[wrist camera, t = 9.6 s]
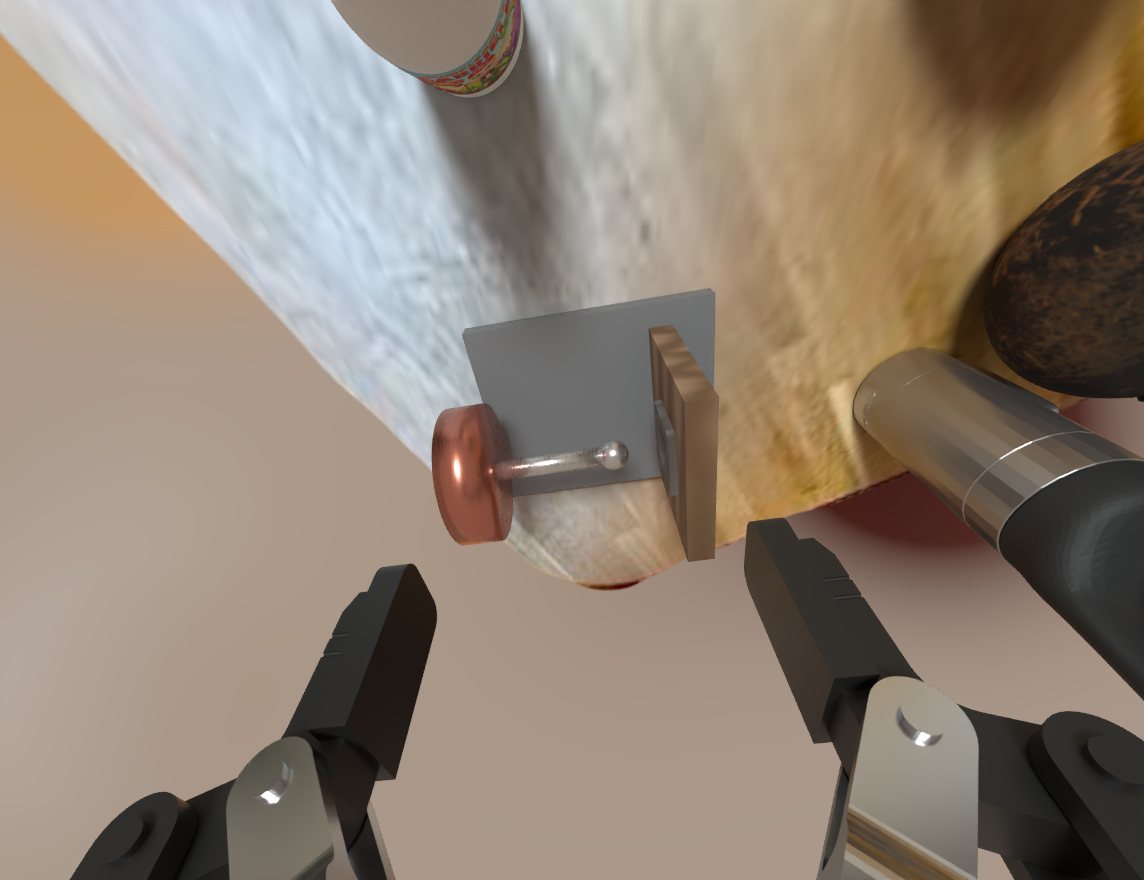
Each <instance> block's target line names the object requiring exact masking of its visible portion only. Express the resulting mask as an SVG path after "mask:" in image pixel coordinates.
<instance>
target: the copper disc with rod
mask: <svg viewBox="0 0 1144 880" xmlns="http://www.w3.org/2000/svg"><path fill="white" fill-rule="evenodd" d="M628 457H629V452H628V449H627V447H626V445H625V444H624V443H623V442H621V441H619V440H616V439H611V440H608V441H606V442H604V443H603V444H602V445H601V446H598V447H591V448H584V449H577V450H570V451H563V452H556V453H549V454H542V455H535V456H528V457H521V458H514V459H509V455H508V450H507V446H506V441H505V438H504V434H503V431H502V428H501V425H500V422H499V420H498V417H497V415H496V413H495V412H494V410H493V409H492V407H491V406H490V405H488V404H486V403H483V404H476V405H470V406H463V407H457V408H450V409H445V410H444V411H442V413H441V414H440V415H439V417H438V419H437V422H436V424H435V428H434V433H433V440H432V473H433V481H434V488H435V494H436V498H437V502H438V507H439V510H440V513H441V516H442V519H443V521H444V524H445V526H446V528H447V530H448V532H449V533H450V535H451V537H452V538H453V539H454V540H455V541H456V542H457V543H458V544H460V545H472V544H480V543H488V542H496V541H503V540H505V539H506V538H507V536H508V534H509V531H510V528H511V523H512V515H513V486H512V479H515V478H522V477H529V476H536V475H543V474H551V473H558V472H565V471H572V470H579V469H587V468H594V467H601V466H604V467H606V468H607V469H611V470H616V469H620V468H622V467H623V466H624V465H625V464H626V462H627V461H628Z"/></svg>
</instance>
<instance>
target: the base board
mask: <svg viewBox="0 0 1144 880" xmlns="http://www.w3.org/2000/svg"><path fill="white" fill-rule="evenodd" d="M671 324H673V326H674V328H675V329H676V331H677V332H678V334H679V335H680V337H681V339H682V340H683V342H684V343H685V345H686V346H687V348H688V350H689V351H690V353H691V354H692V356H693V357H694V359H695V360H696V362H697V364H698V365H699V367H700V368H701V370H702V371H703V373H704V375H705V376H706V378H707V379H708V381H709V382H710V384H711V386H712V387H713V388H714V335H715V292H713V291H712V290H711V289H710V288H709V289H703V290H697V291H691V292H685V293H679V294H673V295H667V296H661V297H655V298H649V299H643V300H637V301H631V302H625V303H618V304H612V305H606V306H600V307H594V308H588V309H582V310H576V311H570V312H564V313H558V314H552V315H546V316H540V317H534V318H528V319H522V320H516V321H509V322H503V323H497V324H491V325H485V326H479V327H473V328H467V329H465V330H464V332H463V334H462V336H463V340H464V343H465V346H466V349H467V353H468V356H469V359H470V362H471V366H472V369H473V372H474V375H475V379H476V382H477V385H478V388H479V392H480V395H481V398H482V401H483V403H486V404H488V405H490V406H491V407H492V409H493V410H494V412H495V413H496V415H497V417H498V420H499V422H500V425H501V428H502V431H503V434H504V438H505V441H506V446H507V450H508V455H509V459H514V458H521V457H528V456H535V455H542V454H549V453H556V452H563V451H570V450H577V449H584V448H591V447H598V446H601V445H602V444H603V443H604V442H606V441H608V440H611V439H616V440H619V441H621V442H623V443H624V444H625V445H626V447H627V449H628V452H629V457H628V461H627V462H626V464H625V465H624V466H623V467H622V468H620V469H616V470H611V469H607V468H606V467H604V466H601V467H594V468H587V469H579V470H572V471H565V472H558V473H551V474H543V475H536V476H529V477H522V478H515V479H512V486H513V497H514V496H522V495H529V494H536V493H544V492H551V491H558V490H566V489H573V488H581V487H588V486H595V485H603V484H610V483H617V482H625V481H632V480H639V479H647V478H654V477H661V476H662V475H661V472H660V469H659V465H658V462H657V450H656V435H655V419H654V404H653V389H652V374H651V359H650V344H649V329H648V328H652V327H659V326H665V325H671Z"/></svg>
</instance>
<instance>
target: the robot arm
mask: <svg viewBox="0 0 1144 880" xmlns="http://www.w3.org/2000/svg"><path fill="white" fill-rule="evenodd" d="M853 410H854V416H855V418H856V420H857V422H858V424H859V425H860V426H861V427H862V428H863V429H865V430H866V431H867V432H868V433H869V434H870V435H871V436H872V437H873V438H874V439H875V440H876V441H877V442H878V443H880V444H881V445H882V446H883V447H884V448H885V449H886V450H887V451H888V452H889V453H890V454H891V455H892V456H893V457H894V458H895V459H897V460H898V461H899V462H900V463H901V464H902V465H903V466H904V467H905V468H906V469H907V470H909V471H910V472H911V473H912V474H913V475H914V476H915V477H916V478H917V479H919V481H920V482H922V483H923V484H924V485H925V486H926V487H927V488H928V489H929V490H930V491H931V492H932V493H933V494H935V495H936V496H937V497H938V498H939V499H940V500H941V501H942V502H943V503H944V504H945V505H946V506H948V507H949V508H950V509H951V510H952V511H953V512H954V513H955V514H956V515H957V516H958V517H960V518H961V519H962V520H963V521H964V522H965V523H966V524H967V525H968V526H970V527H971V528H972V529H973V530H974V531H975V532H976V533H977V534H978V535H979V536H980V537H982V538H983V539H984V540H985V541H986V542H987V543H988V544H989V545H990V546H991V547H993V549H994V550H996V551H997V552H998V553H999V554H1000V555H1001V556H1002V557H1004V558H1005V560H1007V561H1008V562H1009V563H1010V564H1011V565H1012V566H1013V567H1014V568H1015V569H1016V570H1017V571H1019V572H1020V573H1021V575H1022V576H1023V577H1024V578H1025V579H1026V581H1027V582H1028V583H1029V584H1030V586H1031V587H1032V588H1033V589H1034V590H1035V591H1036V592H1037V593H1038V594H1039V596H1040V597H1042V599H1043V600H1044V601H1045V602H1046V603H1048V604H1049V605H1050V606H1051V607H1052V608H1053V609H1054V610H1055V611H1056V612H1057V613H1058V614H1059V615H1060V616H1061V617H1062V618H1063V619H1064V620H1065V621H1067V623H1069V624H1070V626H1072V628H1074V630H1075V631H1077V633H1078V634H1080V636H1081V637H1082V638H1083V639H1084V640H1085V641H1086V642H1087V643H1088V644H1089V645H1090V646H1091V647H1093V649H1094V650H1095V651H1096V652H1097V653H1098V654H1099V655H1100V656H1101V657H1102V658H1103V659H1104V660H1105V661H1106V662H1107V663H1108V664H1109V665H1110V666H1111V667H1112V668H1113V669H1114V670H1115V671H1116V672H1117V673H1118V674H1119V675H1120V676H1121V678H1122V679H1124V681H1125V682H1127V684H1128V685H1129V686H1130V687H1131V688H1132V689H1133V690H1134V691H1135V692H1136V693H1137V694H1138V695H1139V696H1140V697H1141V698H1142V699H1143V700H1144V458H1142V457H1141V456H1138V455H1137V454H1135V453H1133V452H1131V451H1129V450H1127V449H1125V448H1123V447H1122V446H1120V445H1118V444H1116V443H1114V442H1112V441H1110V440H1108V439H1106V438H1104V437H1102V436H1100V435H1098V434H1096V433H1094V432H1093V431H1091V430H1088V429H1087V428H1085V427H1083V426H1081V425H1079V424H1077V423H1076V422H1074V421H1072V420H1070V419H1068V418H1066V417H1064V416H1062V415H1060V414H1059V413H1058V412H1059V410H1058V407H1057V406H1056V405H1055V404H1053V403H1051V402H1049V401H1047V400H1045V399H1044V398H1042V397H1040V396H1038V395H1036V394H1034V393H1032V392H1030V391H1028V390H1026V389H1024V388H1022V387H1020V386H1018V385H1016V384H1014V383H1012V382H1010V381H1008V380H1007V379H1005V378H1003V377H1001V376H999V375H997V374H995V373H993V372H991V371H989V370H987V369H985V368H983V367H981V366H979V365H977V364H975V363H973V362H971V361H970V360H968V359H966V358H964V357H957V358H953V357H951V356H949V355H947V354H945V353H944V352H942V351H938V350H935V349H926V348H921V349H914V350H910V351H906V352H903V353H900V354H898V355H896V356H894V357H892V358H890V359H888V360H887V361H885V362H884V363H882V364H881V365H879V366H878V367H877V368H876V369H875V370H874V371H872V372H871V373H870V374H869V375H868V377H867V378H866V379H865V380H864V382H863V383H862V385H861V386H860V388H859V390H858V392H857V394H856V397H855V400H854V408H853ZM744 572H745V578H746V582H747V586H748V589H749V592H750V594H751V596H752V599H753V601H754V603H755V606H756V608H757V611H758V613H759V616H760V618H761V620H762V623H763V625H764V627H765V629H766V632H767V634H768V637H769V639H770V641H771V643H772V646H773V649H774V651H775V653H776V656H777V658H778V660H779V663H780V665H781V667H782V670H783V672H784V674H785V677H786V679H787V682H788V684H789V686H790V688H791V691H792V693H793V696H794V698H795V700H796V702H797V705H798V707H799V710H800V712H801V714H802V716H803V719H804V722H805V724H806V726H807V729H808V731H809V733H810V736H811V738H812V740H813V743H814V744H815V743H826V742H832V743H833V745H834V747H835V749H836V752H837V754H838V756H839V758H840V760H841V766H840V770H839V775H838V779H837V785H836V789H835V794H834V799H833V804H832V808H831V814H830V818H829V823H828V828H827V832H826V838H825V842H824V847H823V852H822V857H821V861H820V866H819V870H818V875H817V879H816V880H977V859H978V857H977V856H978V848H981V849H985V850H988V851H991V852H994V853H998V854H1000V855H1001V857H1002V859H1003V860H1004V862H1005V864H1006V866H1007V867H1008V869H1009V871H1010V873H1011V874H1012V876H1013V878H1014V880H1144V741H1143V740H1141V739H1140V738H1138V737H1137V736H1136V735H1134V734H1132V733H1131V732H1129V731H1127V730H1126V729H1124V728H1122V727H1120V726H1118V725H1116V724H1114V723H1112V722H1110V721H1107V720H1105V719H1102V718H1100V717H1097V716H1094V715H1090V714H1087V713H1081V712H1072V711H1065V712H1059V713H1056V714H1053V715H1051V716H1050V717H1049V718H1047V719H1046V721H1045V722H1044V723H1043V724H1042V725H1038V724H1033V723H1029V722H1025V721H1020V720H1015V719H1011V718H1006V717H1001V716H996V715H992V714H987V713H983V712H979V711H975V710H971V709H969V708H966V707H963V706H961V705H959V704H956V703H955V702H954V701H952V699H951V698H949V697H948V696H947V695H945V694H944V693H943V692H941V691H940V690H938V689H936V688H935V687H933V686H931V685H929V684H927V683H925V682H923V680H922V679H920V677H919V676H918V675H917V674H916V673H915V672H914V671H913V669H912V668H911V667H910V665H909V664H908V662H907V661H906V659H905V658H904V656H903V655H902V653H901V652H900V651H899V649H898V648H897V646H896V645H895V643H894V642H893V640H892V639H891V637H890V636H889V634H888V633H887V631H886V630H885V628H884V627H883V625H882V624H881V622H880V621H879V619H878V618H877V617H876V615H875V613H874V612H873V610H872V609H871V608H870V606H869V605H868V603H867V602H866V600H865V599H864V598H862V597H861V593H860V591H859V590H858V588H857V587H856V585H855V584H854V583H853V581H852V580H850V579H849V575H848V573H847V572H846V571H845V569H844V568H843V566H842V565H841V563H840V562H839V560H838V559H837V557H836V556H835V554H833V553H832V552H831V551H829V550H828V549H827V548H826V547H824V546H823V545H821V544H820V543H819V542H818V541H816V540H815V539H814V538H808V539H800V540H799V539H798V538H797V536H796V535H795V533H794V531H793V530H792V528H791V526H790V525H789V523H788V522H787V521H786V519H784V518H774V519H766V520H759V521H751V522H749V523H748V525H747V534H746V547H745V561H744ZM436 623H437V610H436V605H435V602H434V599H433V598H432V596H431V594H430V592H429V590H428V588H427V586H426V584H425V582H424V580H423V579H422V577H421V575H420V573H419V571H418V569H417V567H416V566H415V565H414V564H404V565H397V566H389V567H382V568H380V569H379V570H378V571H377V572H376V574H375V576H374V578H373V581H372V583H371V585H370V587H369V590H368V592H361V593H359V594H358V595H357V597H356V598H355V599H354V600H353V601H352V602H351V604H350V605H349V606H348V607H347V608H346V609H345V610H344V611H343V612H342V615H341V617H340V619H339V621H338V623H337V625H336V628H335V629H334V631H333V633H332V639H330V640H329V642H328V644H327V646H326V648H325V650H324V652H323V653H324V656H323V657H321V659H320V661H319V663H318V665H317V667H316V669H315V672H314V673H313V675H312V677H311V680H310V682H309V684H308V686H307V688H306V690H305V692H304V694H303V696H302V698H301V701H300V702H299V705H298V707H297V709H296V711H295V713H294V715H293V718H292V719H291V721H290V724H289V726H288V728H287V729H286V731H285V733H284V735H283V736H282V738H281V739H280V740H278V741H276V742H273V743H272V744H270V745H269V746H267V747H265V748H264V749H263V750H262V751H260V752H259V753H258V754H257V755H256V756H255V757H254V758H253V759H252V760H251V761H250V762H249V763H248V764H247V765H246V766H245V768H244V769H243V770H242V772H241V773H240V774H239V776H238V778H236V779H234V780H232V781H229V782H227V783H225V784H223V785H220V786H218V787H216V788H214V789H212V790H209V791H207V792H205V793H203V794H201V795H198V796H196V797H194V798H192V799H189V800H187V801H183V800H181V799H179V798H178V797H176V796H175V795H173V794H171V793H168V792H158V793H154V794H151V795H149V796H146V797H144V798H142V799H140V800H139V801H137V802H135V803H134V804H132V805H131V806H129V807H128V808H127V809H126V810H125V811H123V812H122V813H121V814H119V815H118V816H117V817H116V818H115V819H114V820H113V821H112V822H111V823H110V824H109V825H108V826H107V827H106V828H105V829H104V830H103V832H102V833H101V834H100V836H98V838H97V839H96V840H95V842H94V843H93V845H92V846H91V848H90V849H89V850H88V852H87V853H86V855H85V857H84V858H83V860H82V861H81V863H80V864H79V866H78V868H77V869H76V871H75V872H74V874H73V875H72V877H71V879H70V880H396V879H395V876H394V873H393V870H392V866H391V863H390V860H389V857H388V853H387V850H386V847H385V844H384V840H383V838H382V834H381V831H380V828H379V824H378V821H377V818H376V815H375V811H374V808H373V805H372V803H371V801H370V797H371V794H372V790H373V787H374V783H375V781H382V780H393V779H395V778H396V775H397V771H398V767H399V764H400V760H401V756H402V752H403V749H404V744H405V741H406V737H407V734H408V730H409V726H410V722H411V718H412V714H413V711H414V707H415V703H416V700H417V696H418V692H419V689H420V685H421V681H422V677H423V673H424V670H425V666H426V662H427V658H428V654H429V651H430V647H431V643H432V639H433V636H434V632H435V628H436Z"/></svg>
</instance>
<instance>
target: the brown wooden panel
mask: <svg viewBox="0 0 1144 880" xmlns="http://www.w3.org/2000/svg"><path fill="white" fill-rule="evenodd" d="M648 329H649V344H650V359H651V374H652V389H653V404H654V419H655V435H656V450H657V462H658V465H659V469H660V472H661V475H662V479H663V482H664V485H665V488H666V492H667V495H668V498H669V501H670V505H671V508H672V511H673V514H674V518H675V521H676V524H677V528H678V531H679V534H680V537H681V541H682V544H683V547H684V550H685V554H686V557H687V560H688V561H689V562H691V561H698V560H707V559H714V558H715V557H714V556H715V555H714V553H715V520H716V482H717V444H718V407H719V397H718V395H717V393H716V392H715V390H714V389H713V387H712V386H711V384H710V382H709V381H708V379H707V378H706V376H705V375H704V373H703V371H702V370H701V368H700V367H699V365H698V364H697V362H696V360H695V359H694V357H693V356H692V354H691V353H690V351H689V350H688V348H687V346H686V345H685V343H684V342H683V340H682V339H681V337H680V335H679V334H678V332H677V331H676V329H675V328H674V326H673V324H671V325H665V326H659V327H652V328H648Z"/></svg>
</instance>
